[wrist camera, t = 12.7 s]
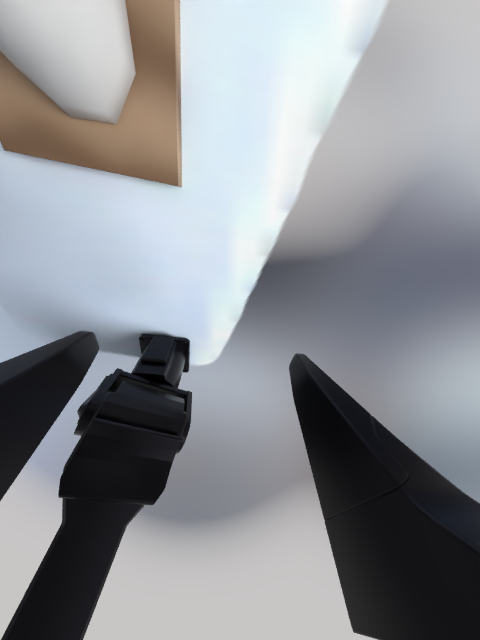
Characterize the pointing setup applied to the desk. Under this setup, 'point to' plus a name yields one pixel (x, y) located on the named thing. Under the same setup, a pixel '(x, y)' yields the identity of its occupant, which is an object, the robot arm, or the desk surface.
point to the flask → (72, 52)
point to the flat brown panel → (136, 116)
